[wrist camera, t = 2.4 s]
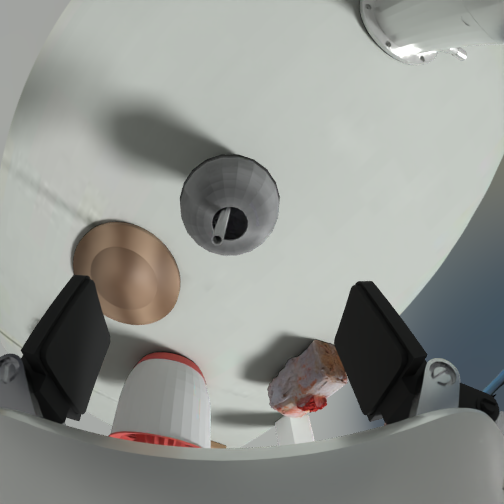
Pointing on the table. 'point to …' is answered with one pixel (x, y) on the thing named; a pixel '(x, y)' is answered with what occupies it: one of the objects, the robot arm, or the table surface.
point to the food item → (307, 381)
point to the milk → (294, 430)
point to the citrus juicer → (164, 403)
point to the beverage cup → (229, 204)
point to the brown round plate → (129, 272)
